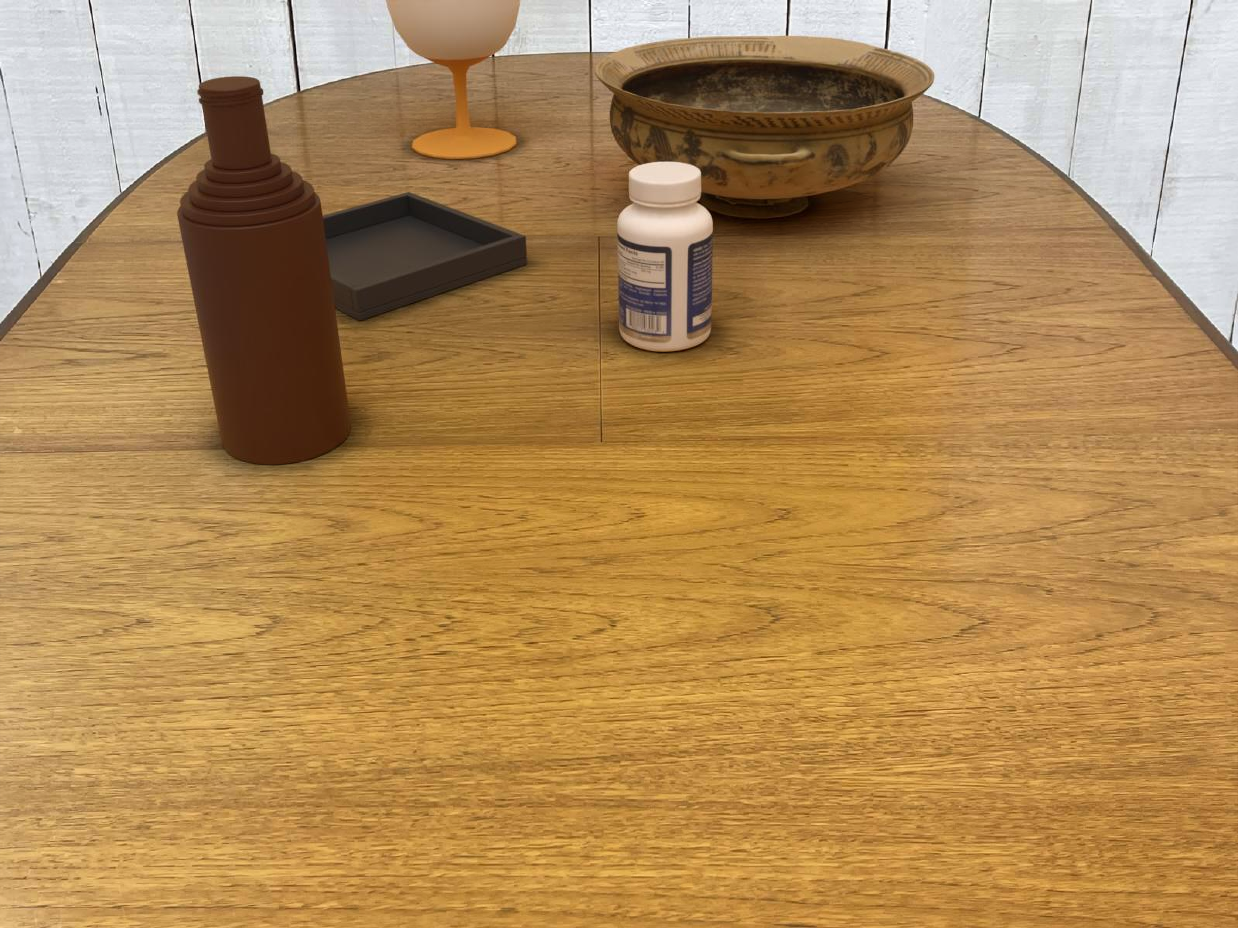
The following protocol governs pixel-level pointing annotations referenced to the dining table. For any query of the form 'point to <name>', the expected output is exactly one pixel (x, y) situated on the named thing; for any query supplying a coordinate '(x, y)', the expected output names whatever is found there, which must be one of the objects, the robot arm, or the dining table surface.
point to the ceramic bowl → (764, 114)
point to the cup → (457, 62)
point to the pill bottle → (665, 259)
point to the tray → (411, 252)
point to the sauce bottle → (262, 288)
